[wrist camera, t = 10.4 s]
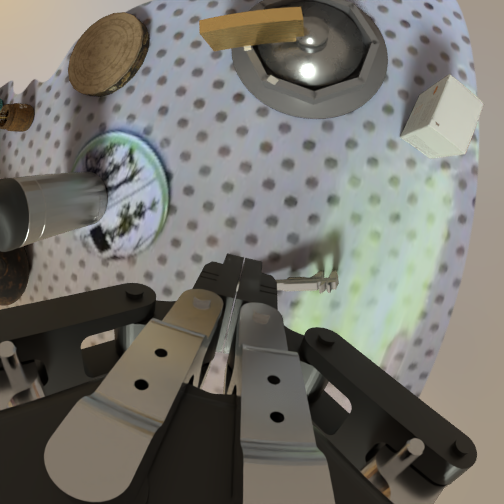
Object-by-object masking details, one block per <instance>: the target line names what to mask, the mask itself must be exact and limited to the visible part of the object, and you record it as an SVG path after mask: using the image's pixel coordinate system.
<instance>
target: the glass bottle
mask: <svg viewBox="0 0 504 504" xmlns="http://www.w3.org/2000/svg"><path fill="white" fill-rule="evenodd" d="M28 277H29V265H28V259H27V255H26V252H25V249H24V247H23V246H22V247H19V248H17V249H14V250H11V251H7V252H1V251H0V305H10V304H12V303H14V302H16V301H17V300H18V299H19V298H20V297H21V296H22V294H23V293H24V291H25V289H26V286H27V283H28Z"/></svg>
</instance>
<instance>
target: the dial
mask: <svg viewBox="0 0 504 504" xmlns="http://www.w3.org/2000/svg"><path fill="white" fill-rule="evenodd" d="M199 25H200V34H201V36H202V37H203V38H204V39H205V41H206V42H207V43H208V44H209V46H210V47H211V48H212V49H213V51H219V50H224V49H230V48H237V47H244V46H251V45H258V48H259V52H260V54H261V57H262V60H263V61H264V63H265V65H266V66H267V68H268V69H269V70H270V71H271V72H272V73H273V74H274V75H275V76H276V77H277V78H279V79H281V80H284V81H287V82H290V83H293V84H296V85H298V86H301V87H304V88H306V89H323V88H326V87H329V86H332V85H335V84H338V83H341V82H344V81H345V80H347V79H348V78H349V77H350V76H351V75H352V74H353V73H354V72H355V70H356V68H357V67H358V65H359V63H360V60H361V58H362V54H363V41H362V37H361V34H360V32H359V30H358V28H357V27H356V25H355V24H354V23H353V22H352V20H351V19H350V18H349V17H347V16H346V15H345V14H344V13H342V12H341V11H339V10H337V9H336V8H333V7H331V6H329V5H325V4H322V3H317V2H295V3H290V4H287V5H284V6H282V7H280V8H275V9H265V10H256V11H248V12H241V13H235V14H229V15H224V16H218V17H213V18H208V19H204V20H199Z"/></svg>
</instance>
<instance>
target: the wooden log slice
mask: <svg viewBox="0 0 504 504" xmlns="http://www.w3.org/2000/svg"><path fill="white" fill-rule="evenodd" d="M149 39H150V38H149V34H148V30H147V27H146V26H145V25H144V24H143V23H142V22H141V21H140V20H139V19H137V18H136V17H135V16H133V15H131V14H128V13H125V12H122V13H113V14H110V15H108V16H105V17H103V18H101V19H100V20H98V21H97V22H96V23H94V24H93V25H91V26H90V27H89V28H88V29H87V30H86V31H85V32H84V34H83V35H82V36H81V37H80V39H79V40H78V42H77V44H76V45H75V47H74V49H73V52H72V54H71V57H70V61H69V67H68V74H69V81H70V83H71V84H72V86H73V88H74V89H75V90H77V91H79V92H80V93H82V94H86V95H90V96H98V97H101V96H105V95H109V94H112V93H114V92H115V91H117V90H118V89H120V88H122V87H123V86H124V85H125V84H126V83H127V82H129V81H130V80H131V79H132V78H133V77H134V76H135V74H136V73H137V71H138V70H139V68H140V67H141V65H142V64H143V62H144V59H145V57H146V54H147V52H148V48H149Z"/></svg>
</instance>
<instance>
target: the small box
mask: <svg viewBox="0 0 504 504" xmlns="http://www.w3.org/2000/svg"><path fill="white" fill-rule="evenodd" d="M483 105H484V103H483V102H482V101H481V100H480V99H479V98H478V97H477V96H475V95H474V94H473V93H472V92H471V91H470V90H468V89H467V88H466V87H465V86H464V85H463V84H461V83H460V82H459V81H458V80H456V79H455V78H454V77H453V76H451V75H450V74H449V75H447V76H446V77H445V78H443V79H442V80H440V81H439V82H437V83H436V84H434V85H433V86H432V87H430V88H429V89H427V90H426V91H425V92H423V93H422V94H420V95H419V97H418V100H417V102H416V104H415V106H414V108H413V111H412V113H411V115H410V117H409V119H408V121H407V123H406V126H405V128H404V130H403V132H402V134H401V136H400V138H402V139H403V140H405V141H406V142H407V143H409V144H410V145H412V146H413V147H415V148H416V149H417V150H419V151H420V152H421V153H423V154H424V155H425V156H427V157H428V158H429V159H433V158H440V157H447V156H455V155H462V154H465V153H466V151H467V149H468V146H469V144H470V141H471V138H472V136H473V133H474V130H475V128H476V125H477V122H478V119H479V116H480V114H481V111H482V107H483Z"/></svg>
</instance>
